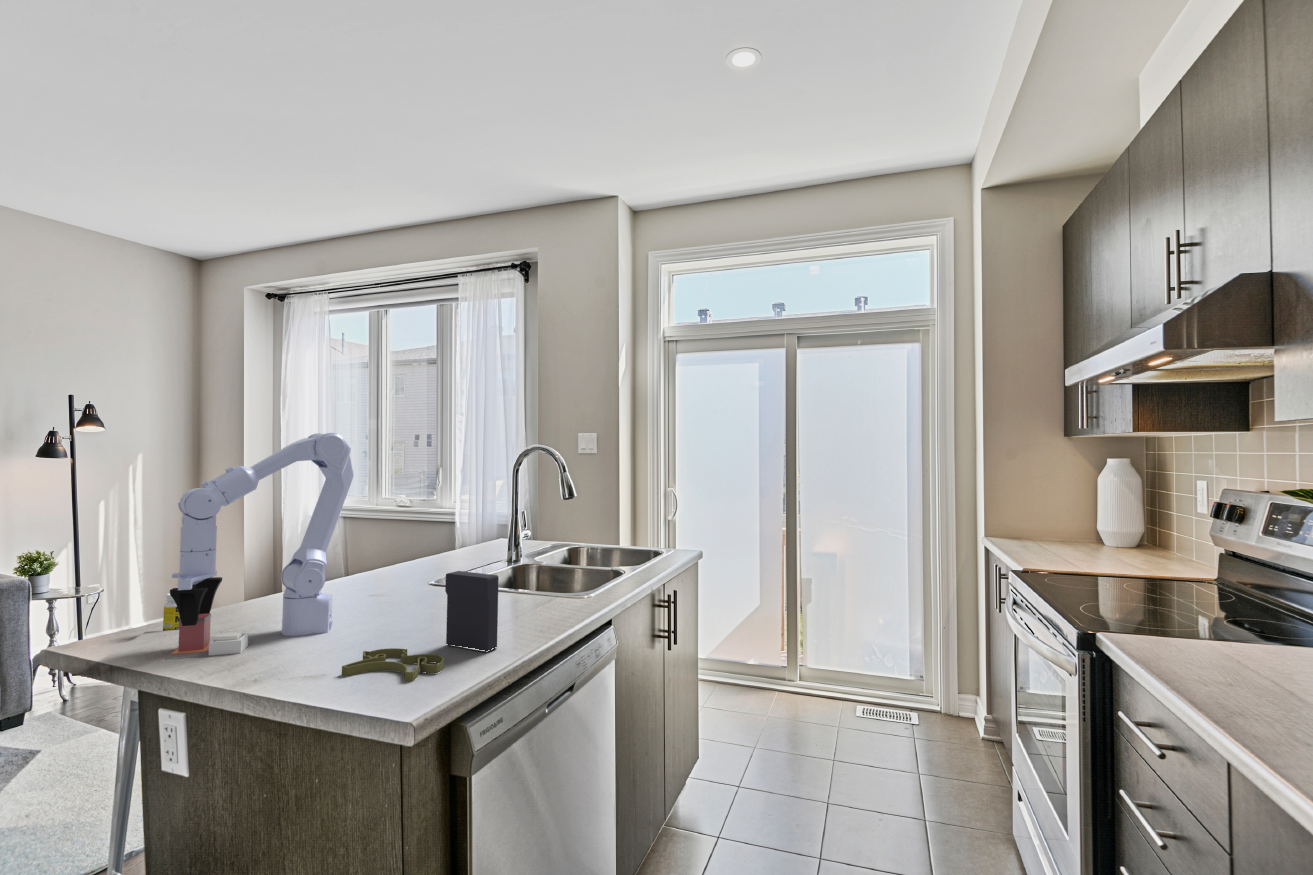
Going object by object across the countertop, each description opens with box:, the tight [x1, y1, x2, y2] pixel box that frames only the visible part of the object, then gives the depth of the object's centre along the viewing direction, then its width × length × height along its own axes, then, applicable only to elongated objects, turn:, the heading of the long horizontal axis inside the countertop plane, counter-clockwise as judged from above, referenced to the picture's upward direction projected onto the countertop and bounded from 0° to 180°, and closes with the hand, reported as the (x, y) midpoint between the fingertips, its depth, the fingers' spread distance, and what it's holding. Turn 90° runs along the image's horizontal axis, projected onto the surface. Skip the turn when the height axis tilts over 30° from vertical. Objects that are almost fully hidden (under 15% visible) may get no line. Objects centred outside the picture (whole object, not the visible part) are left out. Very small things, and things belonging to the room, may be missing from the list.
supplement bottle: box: [162, 592, 180, 632], centre depth 139 cm, size 5×5×8 cm
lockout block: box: [177, 612, 212, 652], centre depth 123 cm, size 4×4×6 cm
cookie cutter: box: [341, 647, 445, 682], centre depth 117 cm, size 18×12×2 cm, turn 79°
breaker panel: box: [164, 632, 253, 661], centre depth 122 cm, size 12×9×4 cm
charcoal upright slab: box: [444, 570, 500, 651], centre depth 130 cm, size 11×4×15 cm, turn 65°
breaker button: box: [214, 630, 244, 641], centre depth 122 cm, size 4×4×3 cm
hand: (196, 620), depth 123 cm, fingers open, 7 cm apart
